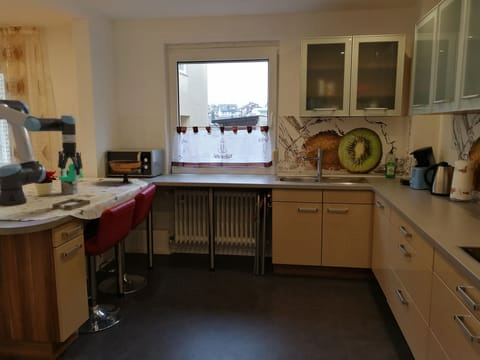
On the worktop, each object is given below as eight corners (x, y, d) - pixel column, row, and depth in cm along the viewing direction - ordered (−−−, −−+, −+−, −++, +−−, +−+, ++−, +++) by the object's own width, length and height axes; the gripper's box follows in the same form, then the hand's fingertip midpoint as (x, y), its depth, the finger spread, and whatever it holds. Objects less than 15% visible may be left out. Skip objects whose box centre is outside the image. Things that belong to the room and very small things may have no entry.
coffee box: (78, 192, 265) (77, 170, 262) (73, 194, 259) (72, 171, 256) (66, 192, 266) (65, 169, 264) (61, 193, 260) (59, 171, 257)
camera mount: (72, 178, 230) (71, 162, 228) (82, 179, 228) (82, 162, 226) (58, 181, 218) (57, 164, 217) (69, 182, 216) (68, 165, 215)
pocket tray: (52, 208, 219) (52, 204, 219) (72, 202, 235) (71, 198, 235) (71, 210, 216) (71, 206, 216) (90, 203, 232) (89, 200, 232)
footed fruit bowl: (97, 182, 307) (97, 161, 304) (118, 178, 330) (118, 159, 327) (133, 187, 293) (133, 164, 290) (152, 182, 316) (152, 161, 314)
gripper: (49, 141, 218) (51, 179, 222) (80, 142, 214) (81, 182, 217) (58, 140, 226) (60, 178, 229) (88, 142, 221) (89, 180, 224)
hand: (70, 180), depth 223 cm, fingers closed on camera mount, 8 cm apart
